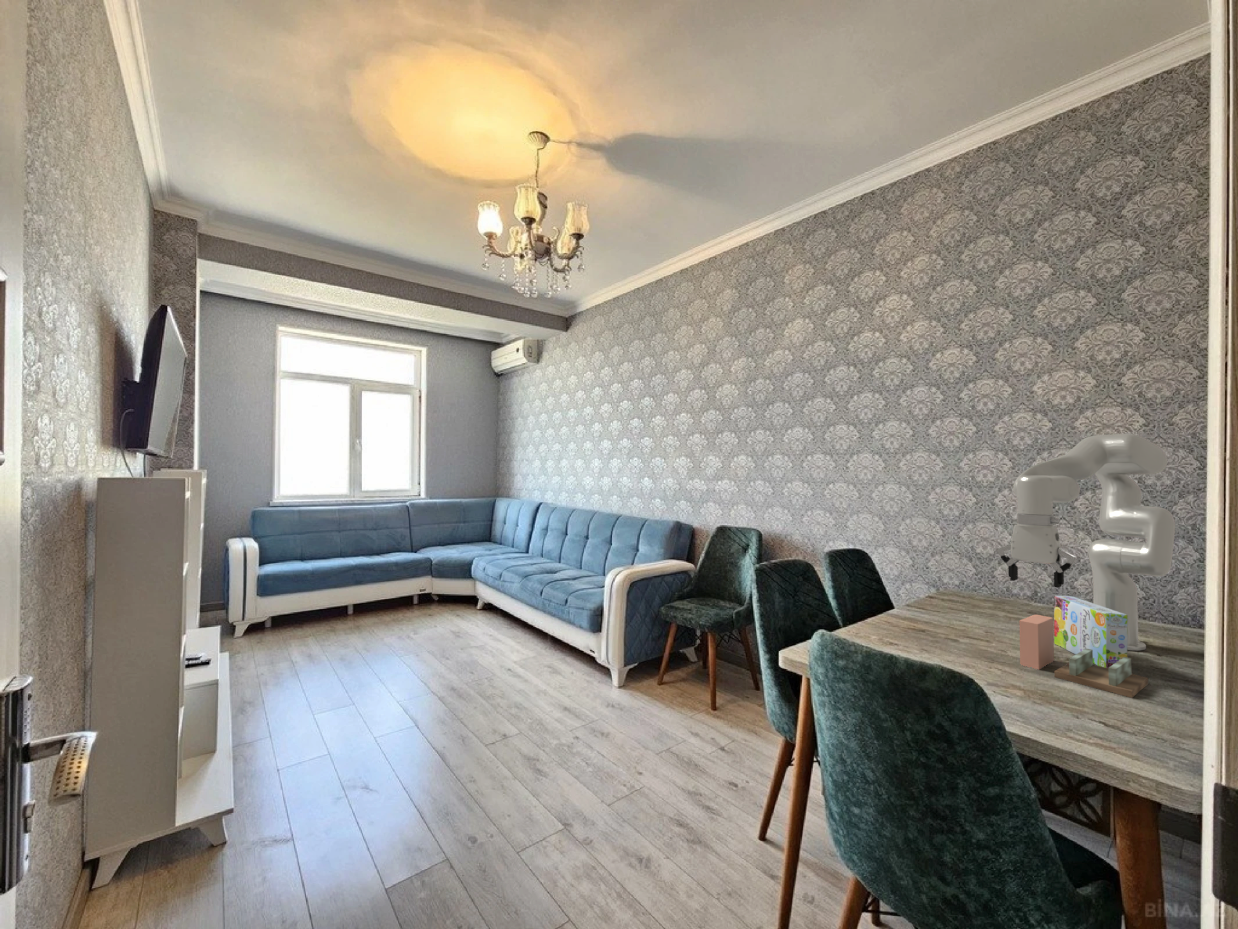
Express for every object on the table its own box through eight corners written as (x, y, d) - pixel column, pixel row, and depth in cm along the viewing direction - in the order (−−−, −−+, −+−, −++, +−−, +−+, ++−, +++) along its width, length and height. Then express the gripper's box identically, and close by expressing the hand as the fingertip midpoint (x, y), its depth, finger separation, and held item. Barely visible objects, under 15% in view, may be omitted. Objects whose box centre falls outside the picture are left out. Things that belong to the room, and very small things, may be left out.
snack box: (1130, 672, 129) (1129, 614, 130) (1105, 670, 130) (1104, 613, 131) (1073, 645, 150) (1072, 595, 150) (1052, 643, 151) (1051, 594, 152)
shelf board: (1073, 665, 134) (1073, 645, 134) (1148, 684, 122) (1147, 661, 122) (1054, 677, 126) (1054, 655, 126) (1131, 697, 114) (1131, 673, 115)
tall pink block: (1035, 657, 140) (1035, 614, 141) (1054, 661, 137) (1053, 617, 137) (1020, 665, 134) (1019, 620, 135) (1038, 670, 131) (1037, 624, 131)
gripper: (1080, 523, 131) (1081, 588, 131) (1003, 518, 146) (1003, 576, 145) (1070, 524, 127) (1071, 591, 127) (991, 519, 142) (992, 579, 141)
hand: (1035, 583), depth 136 cm, fingers open, 9 cm apart
